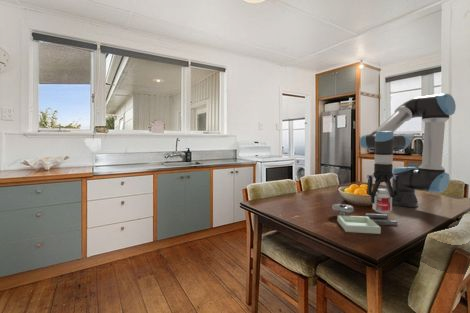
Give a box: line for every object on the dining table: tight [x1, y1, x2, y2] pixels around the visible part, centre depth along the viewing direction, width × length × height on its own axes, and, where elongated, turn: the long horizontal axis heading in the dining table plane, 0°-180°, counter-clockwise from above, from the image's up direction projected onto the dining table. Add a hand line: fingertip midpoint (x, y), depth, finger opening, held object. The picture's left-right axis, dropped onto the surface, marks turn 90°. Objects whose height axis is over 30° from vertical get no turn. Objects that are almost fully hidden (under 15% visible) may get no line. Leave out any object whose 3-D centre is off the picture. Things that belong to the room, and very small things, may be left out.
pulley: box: [331, 203, 354, 216], centre depth 122 cm, size 10×10×6 cm
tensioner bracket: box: [364, 213, 399, 227], centre depth 117 cm, size 10×11×2 cm
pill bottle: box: [374, 188, 390, 214], centre depth 116 cm, size 6×6×11 cm
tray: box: [336, 214, 382, 235], centre depth 109 cm, size 14×14×3 cm
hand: (381, 209), depth 116 cm, fingers closed on pill bottle, 6 cm apart
